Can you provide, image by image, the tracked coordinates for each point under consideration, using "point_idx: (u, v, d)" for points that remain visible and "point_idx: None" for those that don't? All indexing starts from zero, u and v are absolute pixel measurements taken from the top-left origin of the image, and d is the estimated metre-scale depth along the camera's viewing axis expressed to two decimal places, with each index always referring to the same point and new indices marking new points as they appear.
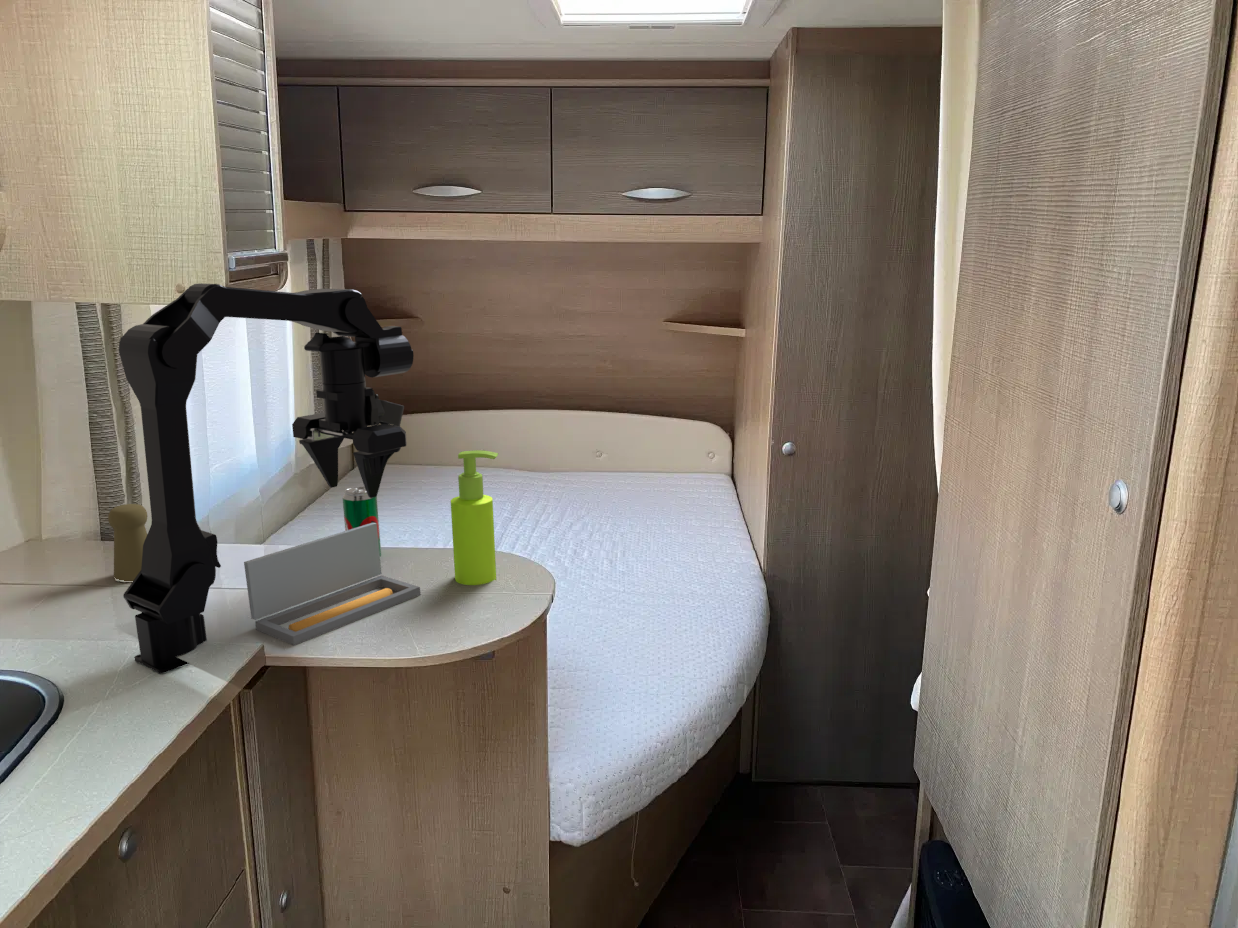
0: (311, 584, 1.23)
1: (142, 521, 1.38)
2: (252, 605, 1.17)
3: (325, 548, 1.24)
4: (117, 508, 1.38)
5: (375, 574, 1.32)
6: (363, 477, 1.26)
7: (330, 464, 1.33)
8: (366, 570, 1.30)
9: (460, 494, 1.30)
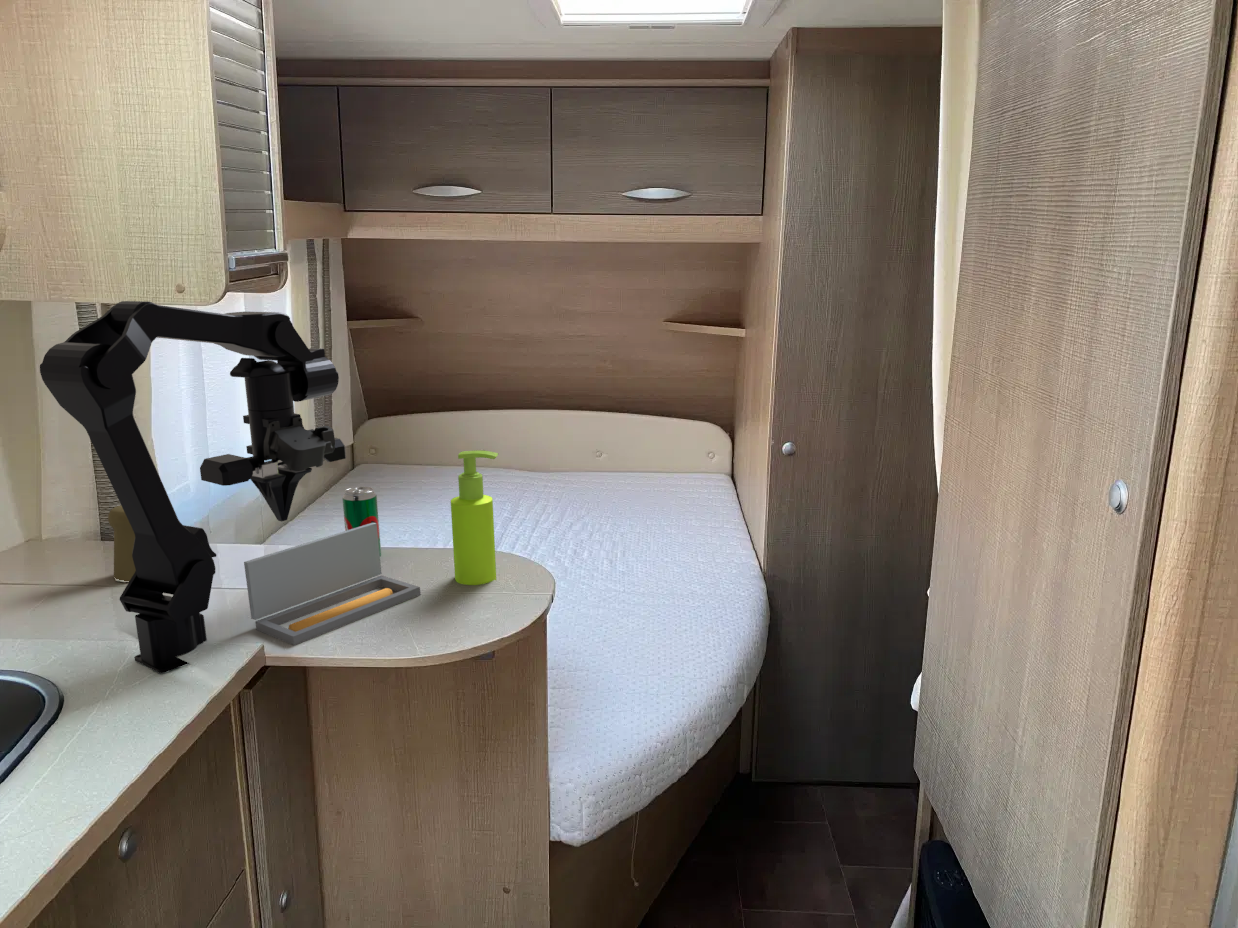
0: (311, 584, 1.23)
1: None
2: (252, 605, 1.17)
3: (325, 548, 1.24)
4: (117, 508, 1.38)
5: (375, 574, 1.32)
6: None
7: None
8: (366, 570, 1.30)
9: (460, 494, 1.30)
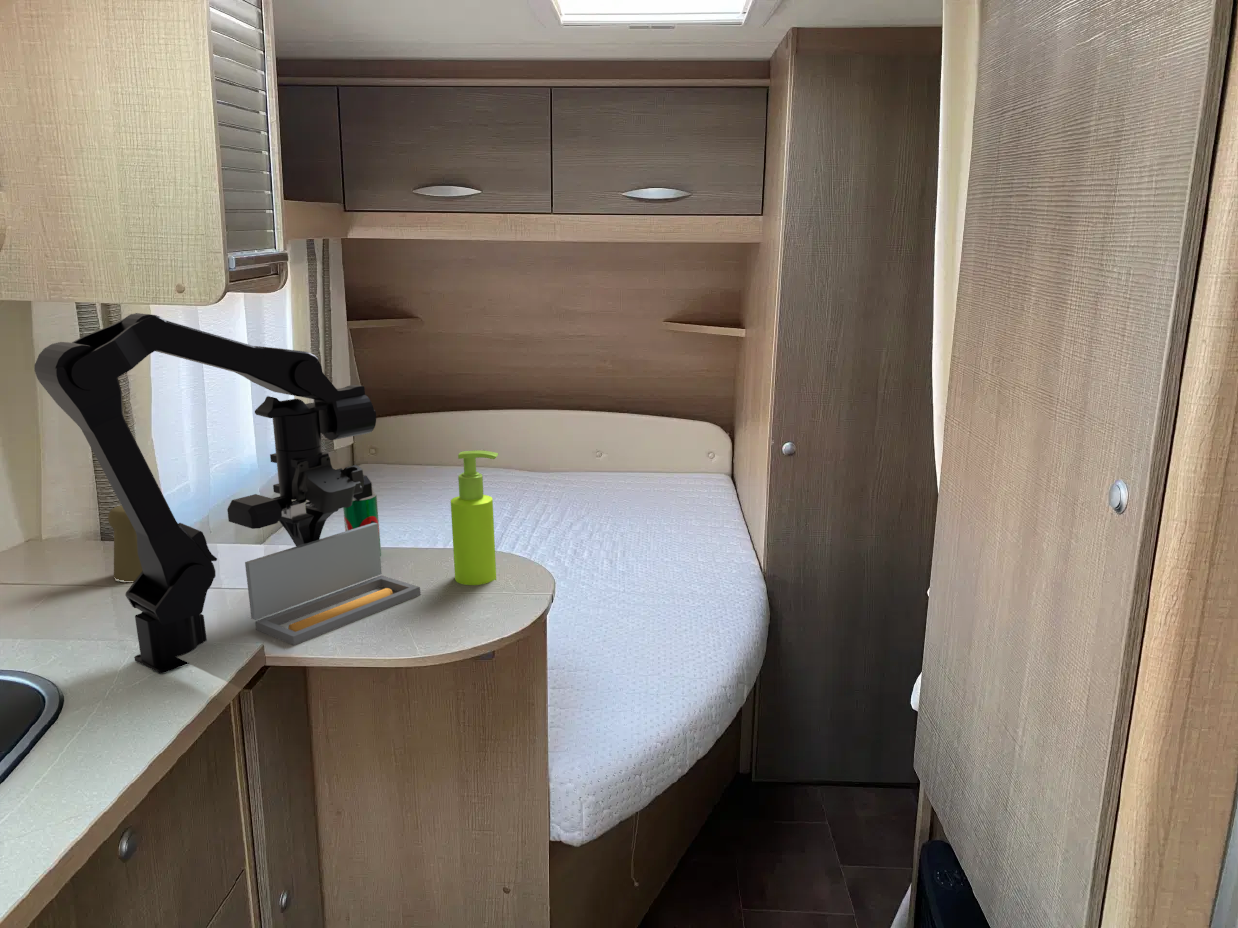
0: (311, 584, 1.23)
1: None
2: (252, 605, 1.17)
3: (326, 548, 1.24)
4: (117, 508, 1.38)
5: (375, 574, 1.32)
6: None
7: None
8: (366, 570, 1.30)
9: (460, 494, 1.30)
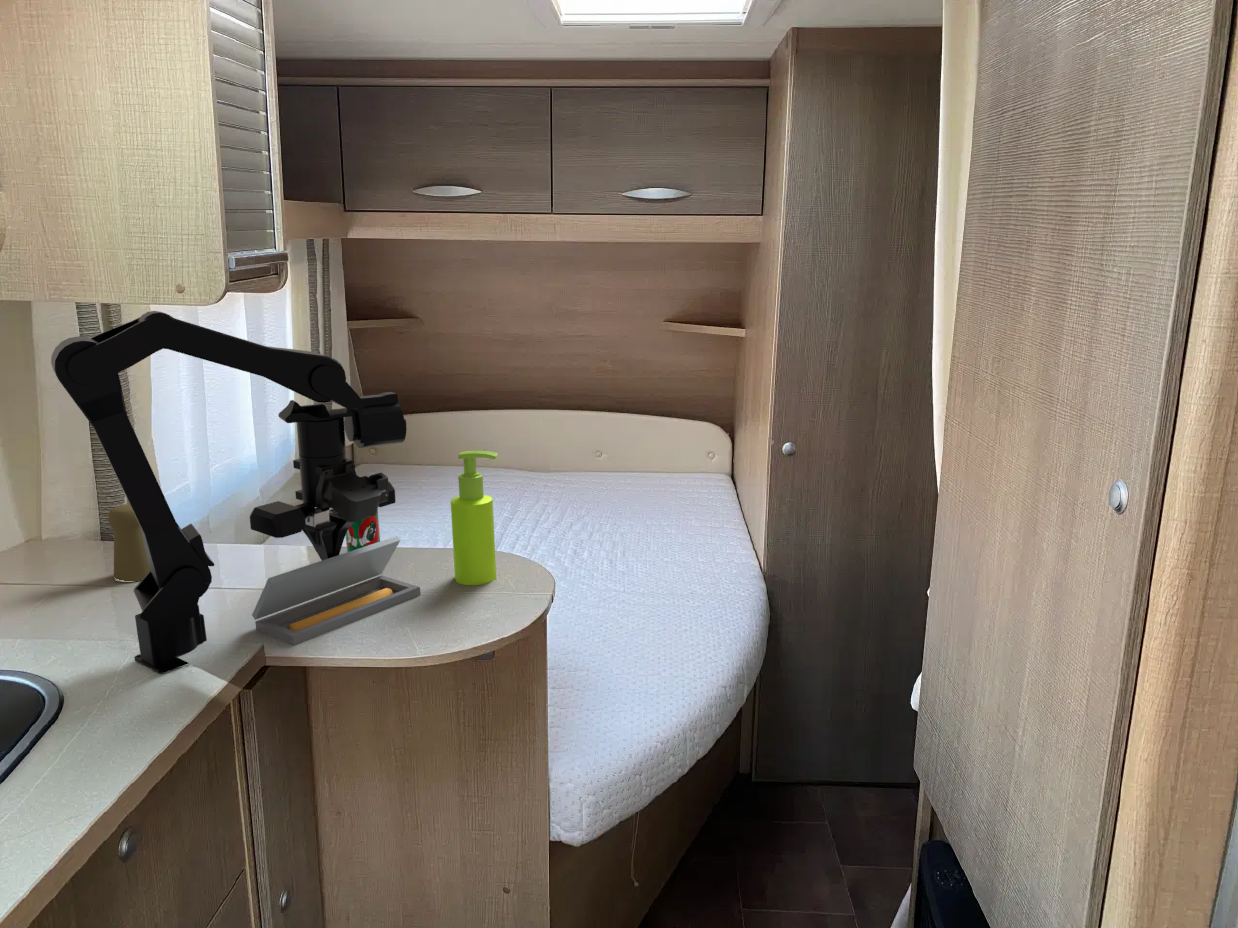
0: (317, 589, 1.22)
1: None
2: (258, 609, 1.16)
3: (345, 563, 1.22)
4: (117, 508, 1.38)
5: (376, 575, 1.32)
6: None
7: None
8: (370, 573, 1.30)
9: (460, 494, 1.30)
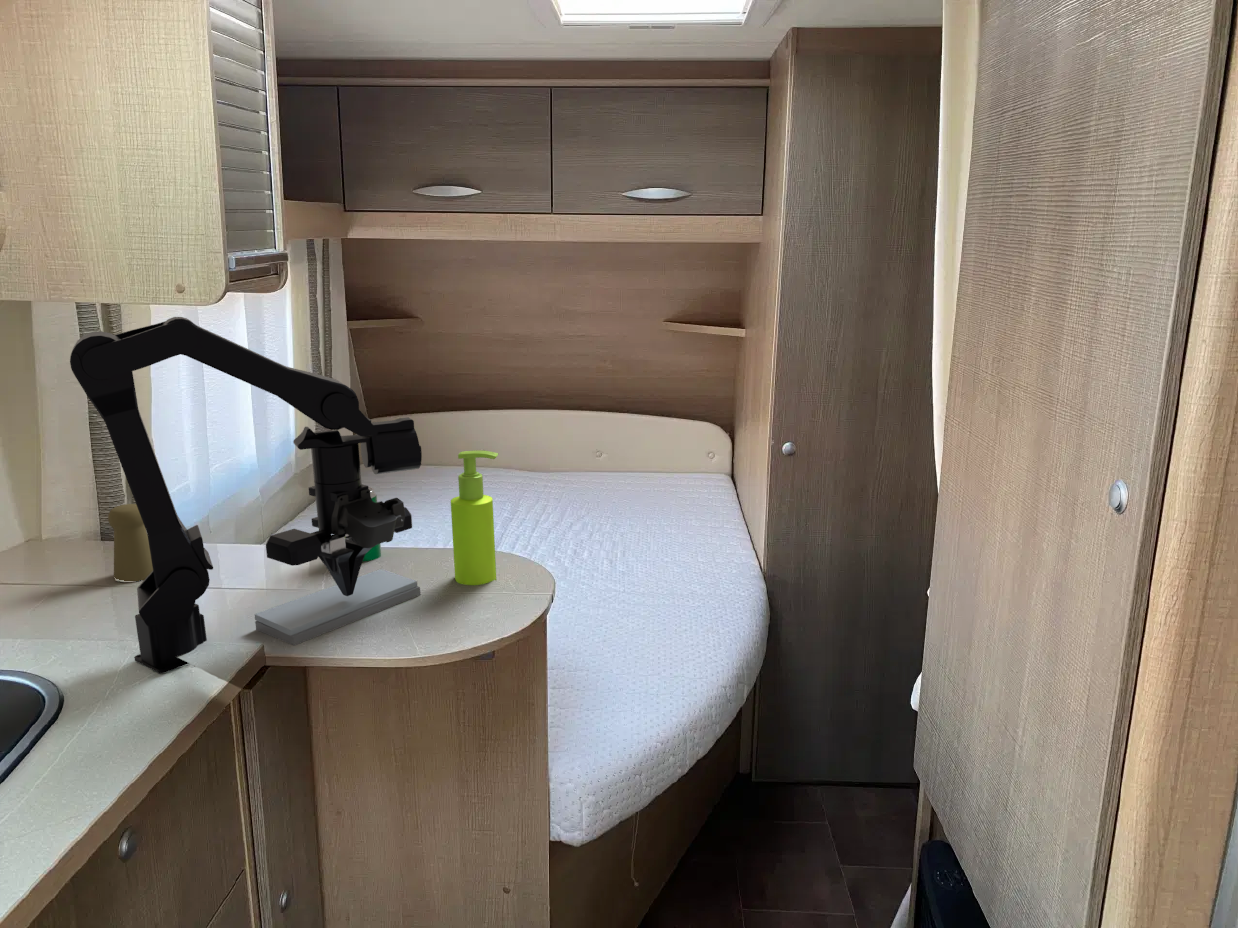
0: None
1: (142, 521, 1.38)
2: (263, 622, 1.16)
3: None
4: (117, 508, 1.38)
5: None
6: None
7: None
8: None
9: (460, 494, 1.30)
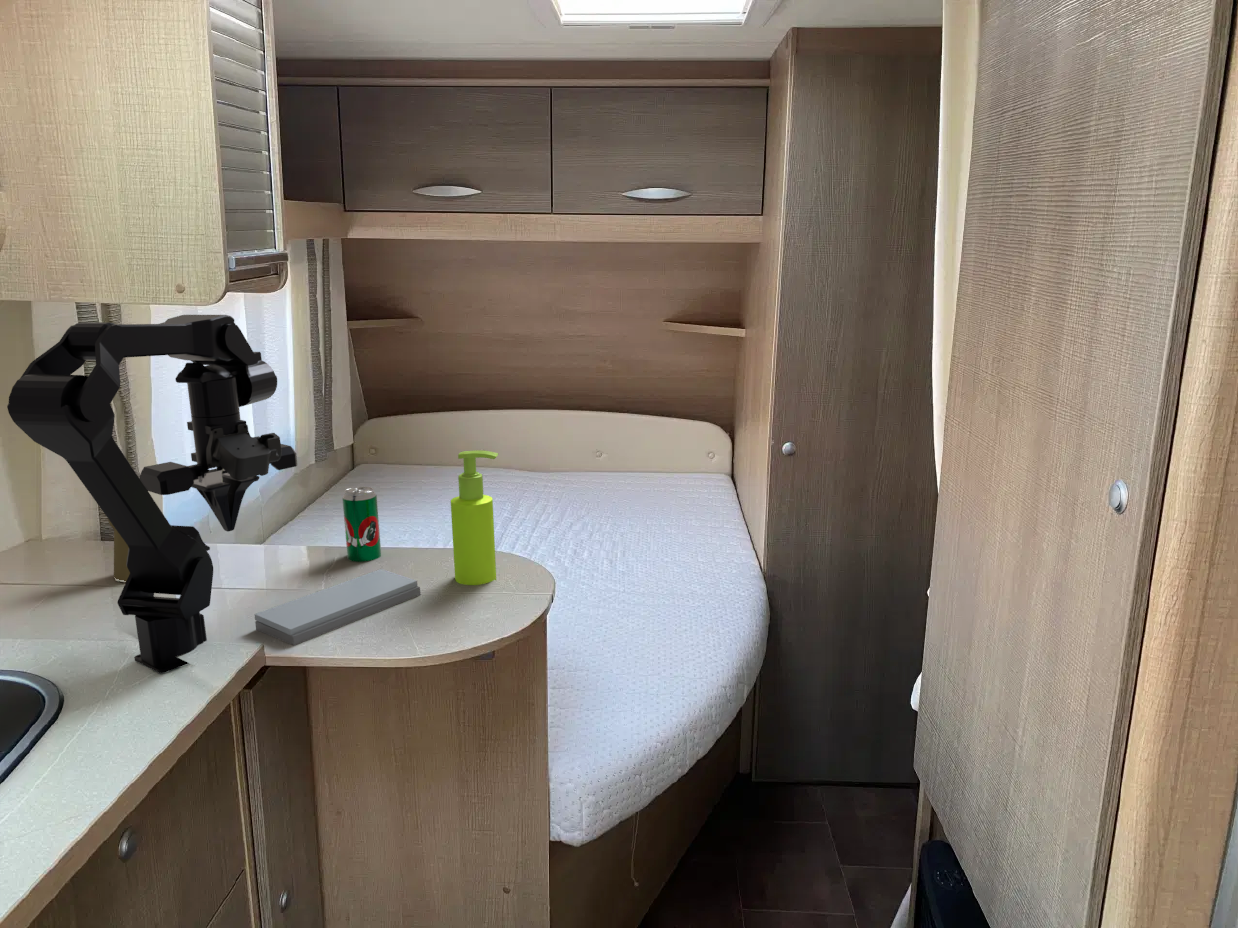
0: None
1: None
2: (263, 621, 1.16)
3: None
4: None
5: None
6: None
7: None
8: None
9: (460, 494, 1.30)
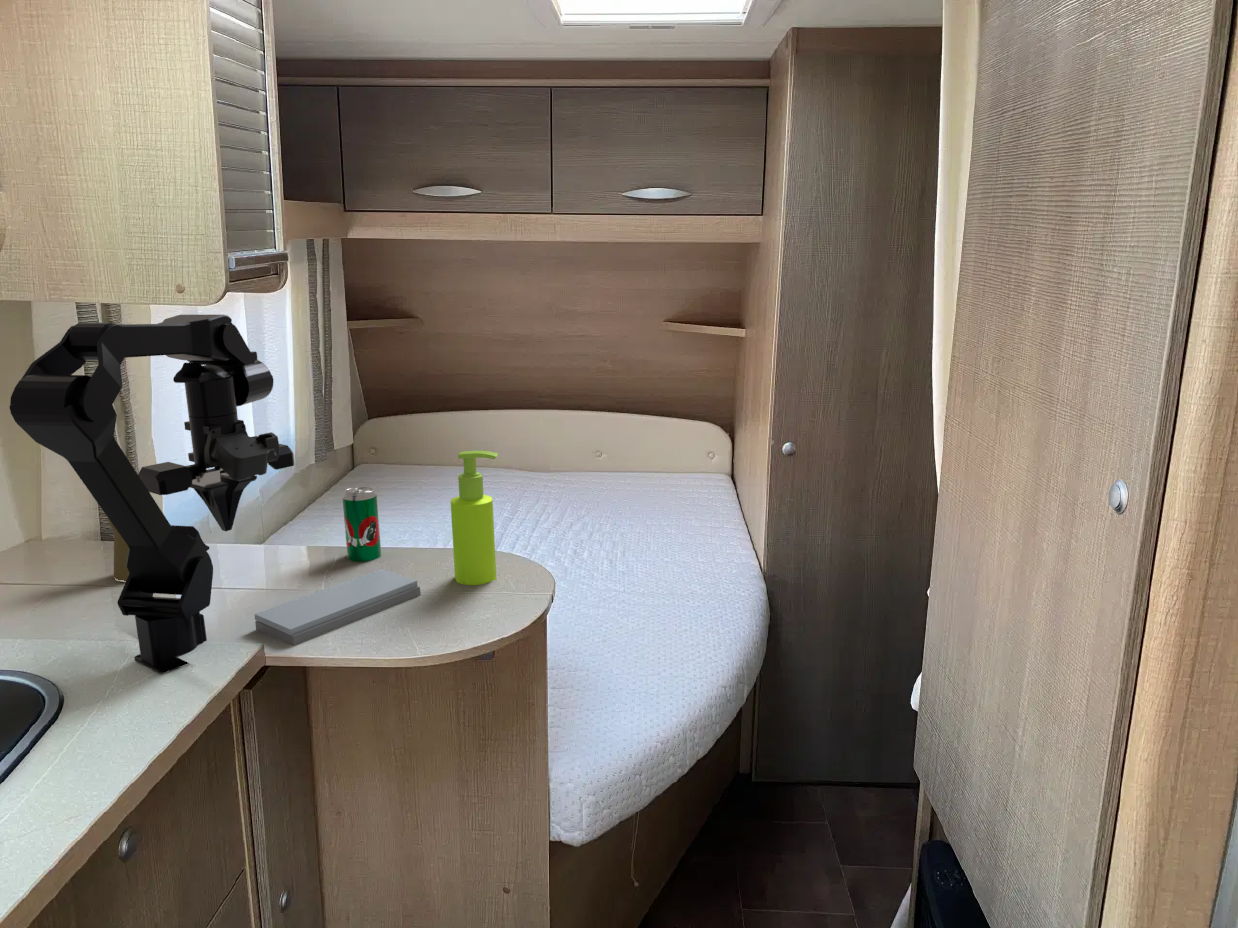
0: None
1: None
2: (263, 621, 1.16)
3: None
4: None
5: None
6: None
7: None
8: None
9: (460, 494, 1.30)
